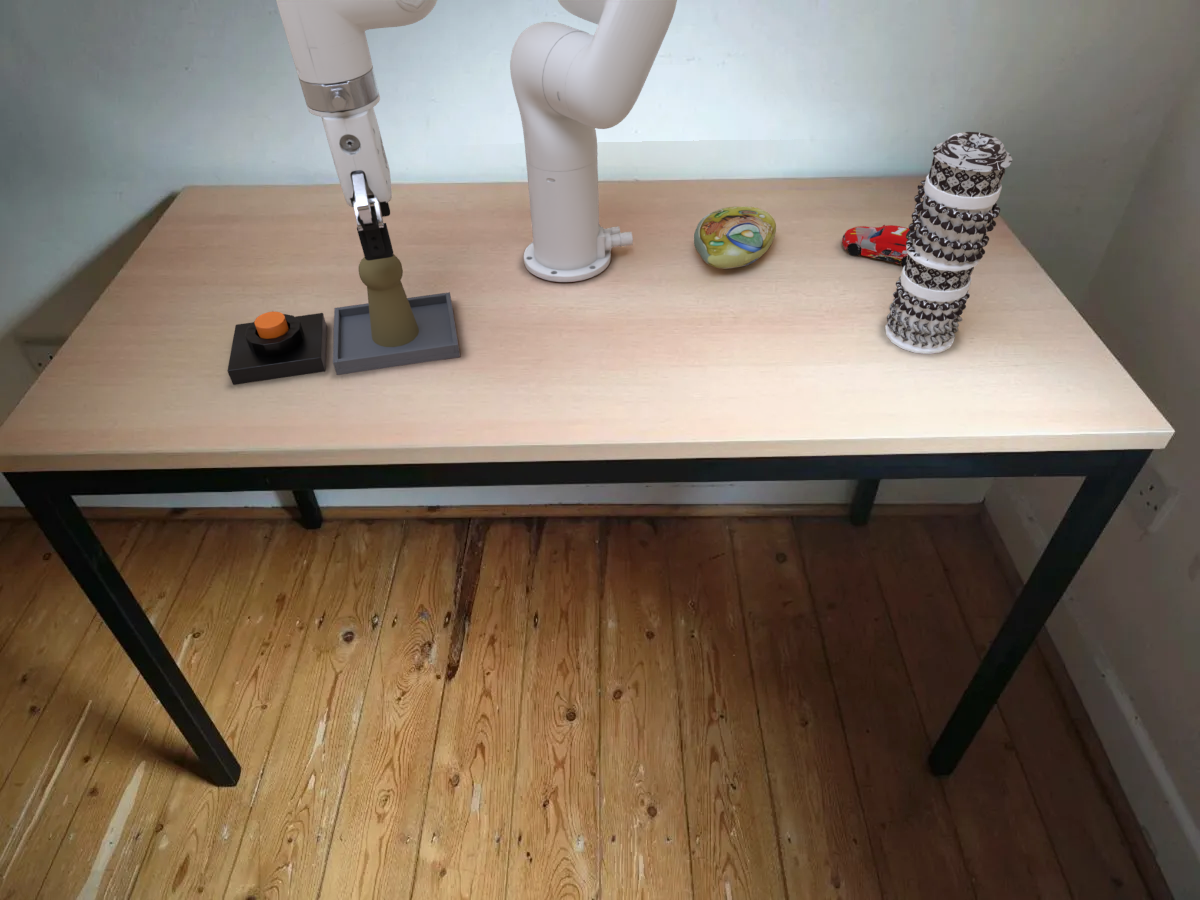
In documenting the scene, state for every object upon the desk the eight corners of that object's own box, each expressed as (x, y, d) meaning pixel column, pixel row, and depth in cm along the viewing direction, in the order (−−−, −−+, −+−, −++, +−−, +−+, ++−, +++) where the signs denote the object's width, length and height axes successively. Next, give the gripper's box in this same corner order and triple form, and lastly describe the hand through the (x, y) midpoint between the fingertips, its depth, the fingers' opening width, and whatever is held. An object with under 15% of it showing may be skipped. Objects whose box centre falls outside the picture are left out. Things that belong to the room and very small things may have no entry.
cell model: (794, 223, 122) (759, 230, 110) (770, 271, 126) (734, 283, 114) (732, 190, 125) (692, 193, 113) (710, 238, 129) (669, 246, 117)
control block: (327, 326, 110) (319, 300, 107) (325, 371, 103) (317, 345, 100) (240, 338, 109) (230, 312, 106) (233, 385, 101) (222, 358, 99)
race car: (835, 252, 121) (839, 227, 118) (847, 236, 124) (851, 211, 121) (927, 274, 116) (934, 249, 113) (937, 257, 119) (944, 231, 116)
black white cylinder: (866, 324, 108) (911, 133, 90) (924, 306, 110) (979, 118, 93) (912, 363, 101) (970, 166, 84) (972, 344, 104) (1041, 149, 87)
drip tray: (451, 304, 113) (449, 291, 112) (460, 357, 104) (458, 344, 103) (337, 320, 111) (334, 307, 110) (336, 375, 102) (332, 362, 101)
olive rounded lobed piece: (408, 349, 105) (391, 273, 97) (363, 344, 106) (343, 268, 98) (425, 322, 109) (410, 247, 101) (382, 317, 110) (364, 243, 102)
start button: (289, 321, 105) (285, 309, 104) (287, 337, 102) (283, 325, 101) (259, 325, 104) (255, 313, 103) (257, 341, 102) (253, 329, 101)
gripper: (379, 117, 81) (414, 269, 93) (375, 55, 93) (407, 197, 105) (300, 127, 80) (346, 280, 92) (306, 64, 92) (346, 206, 104)
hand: (378, 236), depth 98 cm, fingers open, 9 cm apart
